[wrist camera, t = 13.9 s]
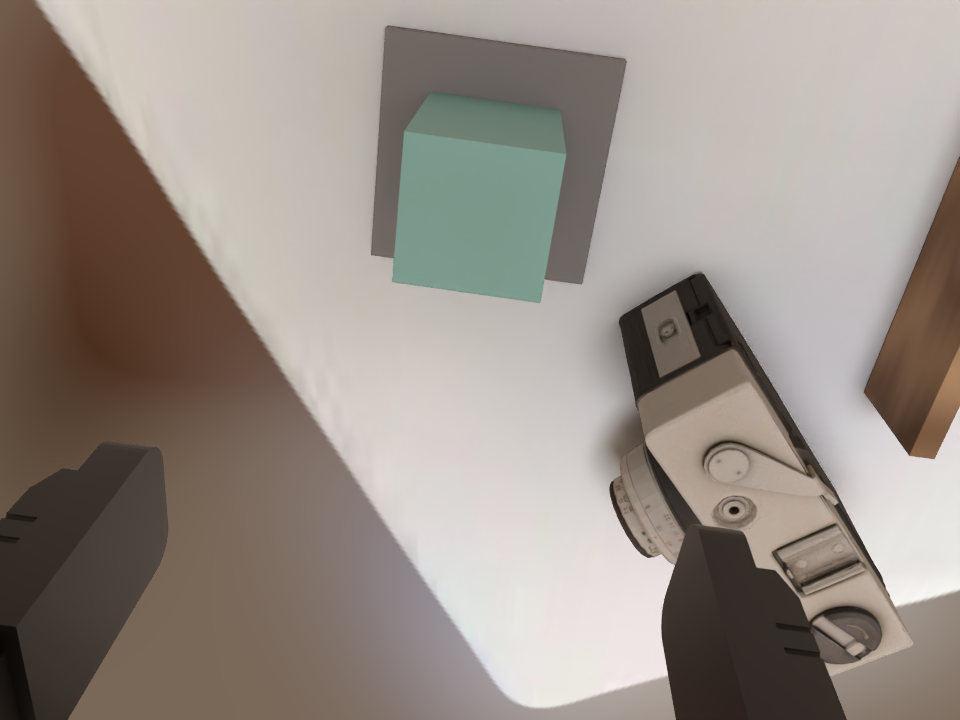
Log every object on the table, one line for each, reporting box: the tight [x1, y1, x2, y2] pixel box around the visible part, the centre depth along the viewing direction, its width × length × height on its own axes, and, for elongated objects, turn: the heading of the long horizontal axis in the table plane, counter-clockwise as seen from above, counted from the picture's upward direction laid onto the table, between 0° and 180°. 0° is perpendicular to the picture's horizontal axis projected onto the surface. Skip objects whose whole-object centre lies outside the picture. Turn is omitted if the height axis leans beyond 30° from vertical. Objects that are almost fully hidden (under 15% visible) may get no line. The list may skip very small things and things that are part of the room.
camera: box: [610, 274, 913, 676], centre depth 33 cm, size 14×8×10 cm, turn 35°
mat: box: [371, 26, 627, 284], centre depth 32 cm, size 9×9×1 cm
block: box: [392, 92, 566, 303], centre depth 29 cm, size 5×5×7 cm
